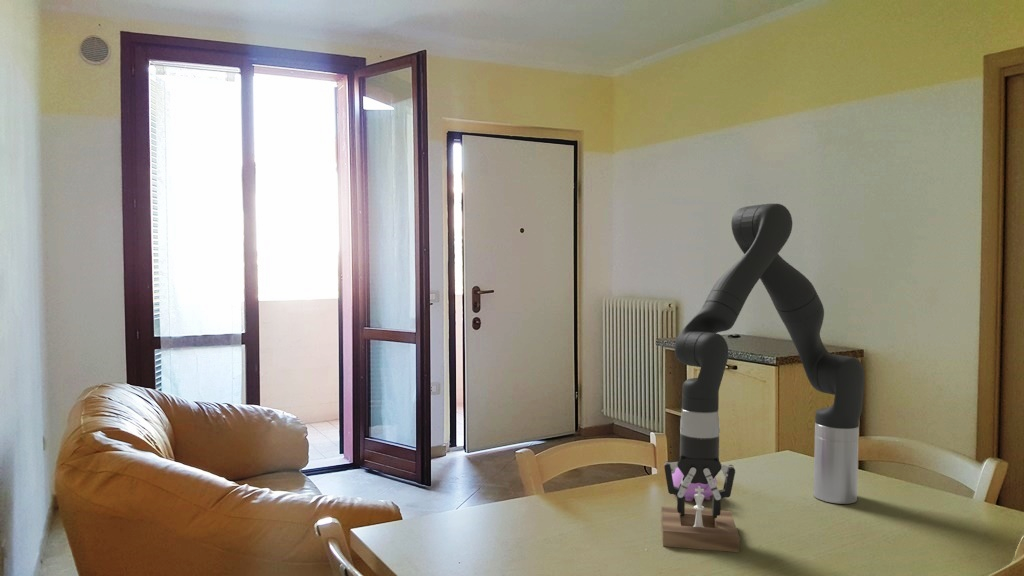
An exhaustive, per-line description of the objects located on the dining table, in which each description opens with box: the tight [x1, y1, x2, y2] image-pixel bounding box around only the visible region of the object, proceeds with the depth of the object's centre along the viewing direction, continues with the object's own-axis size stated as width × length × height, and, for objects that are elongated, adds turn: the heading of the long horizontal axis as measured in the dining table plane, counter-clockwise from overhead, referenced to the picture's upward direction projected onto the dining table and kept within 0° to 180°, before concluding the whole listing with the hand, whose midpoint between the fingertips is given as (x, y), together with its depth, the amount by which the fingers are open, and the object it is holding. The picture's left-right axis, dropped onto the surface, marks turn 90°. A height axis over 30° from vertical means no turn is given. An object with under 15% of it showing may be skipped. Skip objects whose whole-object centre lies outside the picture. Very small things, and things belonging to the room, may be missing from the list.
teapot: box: [672, 468, 718, 502], centre depth 167 cm, size 10×15×9 cm
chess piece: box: [693, 486, 706, 527], centre depth 143 cm, size 5×5×10 cm
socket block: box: [660, 506, 740, 553], centre depth 143 cm, size 14×14×3 cm
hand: (698, 515), depth 143 cm, fingers open, 5 cm apart
